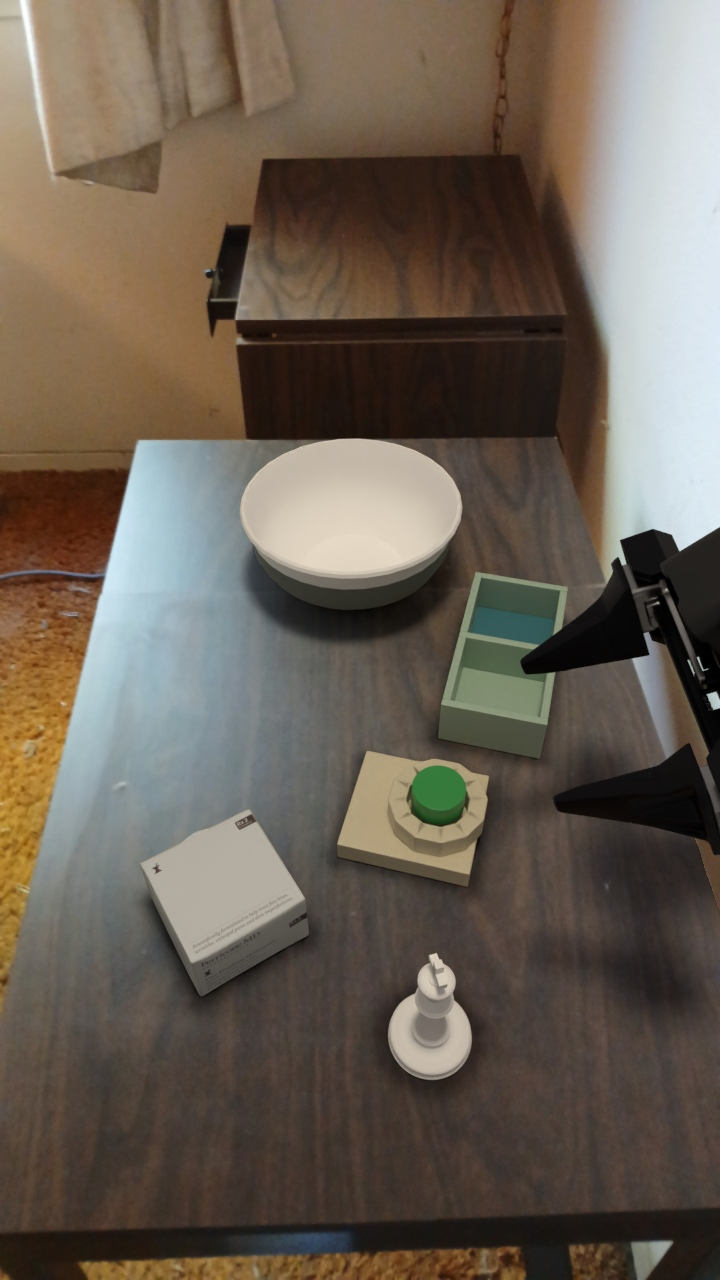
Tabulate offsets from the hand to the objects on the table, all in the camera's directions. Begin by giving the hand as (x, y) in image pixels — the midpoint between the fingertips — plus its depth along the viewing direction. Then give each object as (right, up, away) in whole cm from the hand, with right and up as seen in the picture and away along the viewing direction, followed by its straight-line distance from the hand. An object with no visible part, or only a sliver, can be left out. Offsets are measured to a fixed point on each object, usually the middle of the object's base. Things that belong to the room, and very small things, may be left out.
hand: (537, 731), depth 48 cm
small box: (-18, -13, +10) cm, 25 cm away
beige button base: (-6, -8, +15) cm, 18 cm away
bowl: (-10, +11, +33) cm, 36 cm away
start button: (-4, -6, +12) cm, 14 cm away
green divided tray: (+2, +2, +24) cm, 24 cm away
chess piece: (-5, -19, +5) cm, 20 cm away
